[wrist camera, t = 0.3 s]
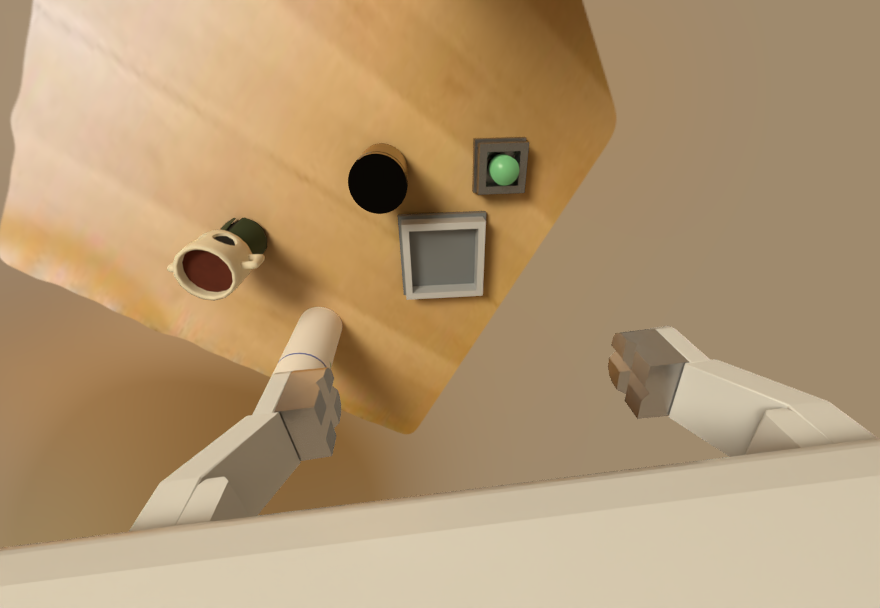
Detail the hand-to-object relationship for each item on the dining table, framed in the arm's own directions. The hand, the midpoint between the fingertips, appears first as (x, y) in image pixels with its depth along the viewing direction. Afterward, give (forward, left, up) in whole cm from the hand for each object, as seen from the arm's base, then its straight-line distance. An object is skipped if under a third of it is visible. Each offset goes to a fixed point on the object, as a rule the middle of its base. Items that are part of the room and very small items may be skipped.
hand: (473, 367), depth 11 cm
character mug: (+11, -27, -46) cm, 54 cm away
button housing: (+2, +10, -46) cm, 47 cm away
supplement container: (+2, -6, -46) cm, 46 cm away
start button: (+2, +10, -43) cm, 45 cm away
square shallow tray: (+15, +2, -46) cm, 48 cm away
